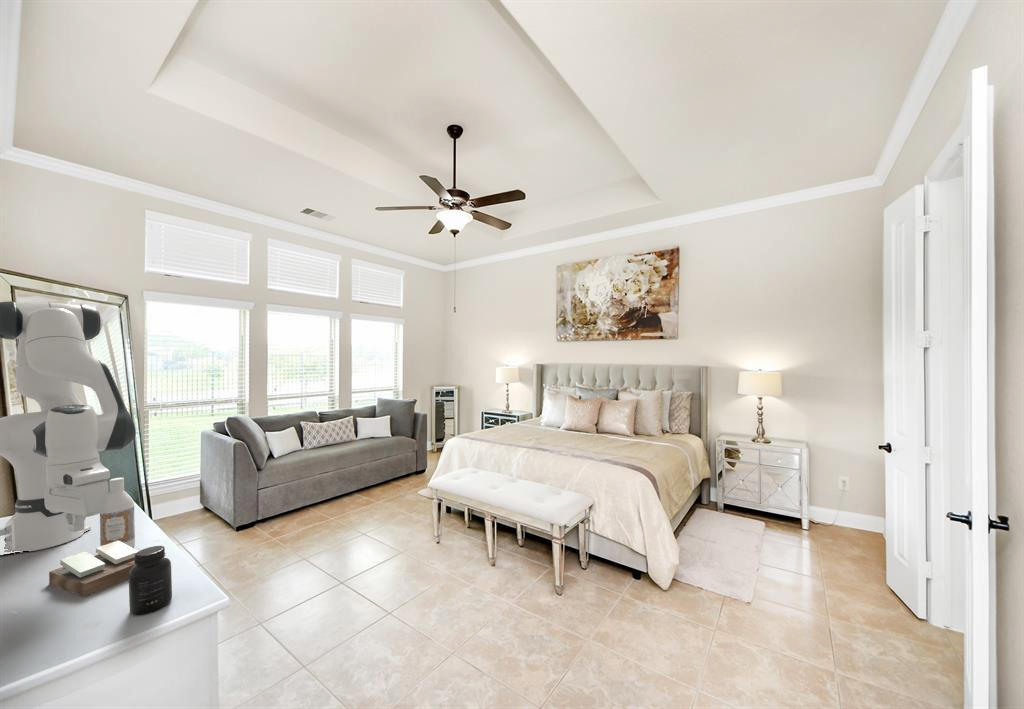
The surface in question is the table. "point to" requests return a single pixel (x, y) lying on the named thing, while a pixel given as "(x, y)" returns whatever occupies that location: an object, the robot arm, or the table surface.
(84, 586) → the switch plate
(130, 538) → the bath foam
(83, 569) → the block
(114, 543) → the block
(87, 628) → the table surface
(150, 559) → the supplement bottle
